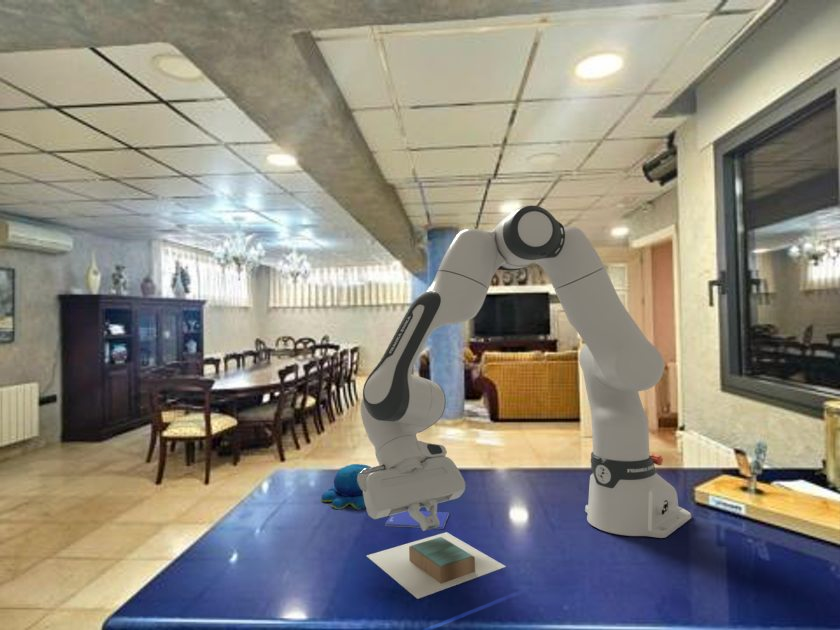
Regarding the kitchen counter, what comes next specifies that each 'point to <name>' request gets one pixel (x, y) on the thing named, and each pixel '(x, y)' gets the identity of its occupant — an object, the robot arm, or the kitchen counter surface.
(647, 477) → the robot arm
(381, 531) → the kitchen counter surface
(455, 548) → the teal-faced wooden block
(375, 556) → the mat
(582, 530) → the kitchen counter surface
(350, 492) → the plush toy
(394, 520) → the hard drive
